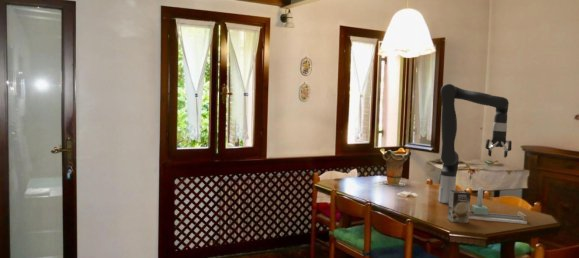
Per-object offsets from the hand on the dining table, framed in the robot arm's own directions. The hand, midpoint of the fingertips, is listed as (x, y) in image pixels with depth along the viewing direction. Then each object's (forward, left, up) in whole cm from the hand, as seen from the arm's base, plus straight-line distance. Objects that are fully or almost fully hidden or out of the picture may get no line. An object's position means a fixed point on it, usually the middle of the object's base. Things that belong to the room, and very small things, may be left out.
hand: (497, 156), depth 270 cm
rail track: (-6, -25, -32) cm, 41 cm away
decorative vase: (-56, +60, -32) cm, 88 cm away
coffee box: (-28, -38, -32) cm, 57 cm away
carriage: (-14, -25, -30) cm, 41 cm away
